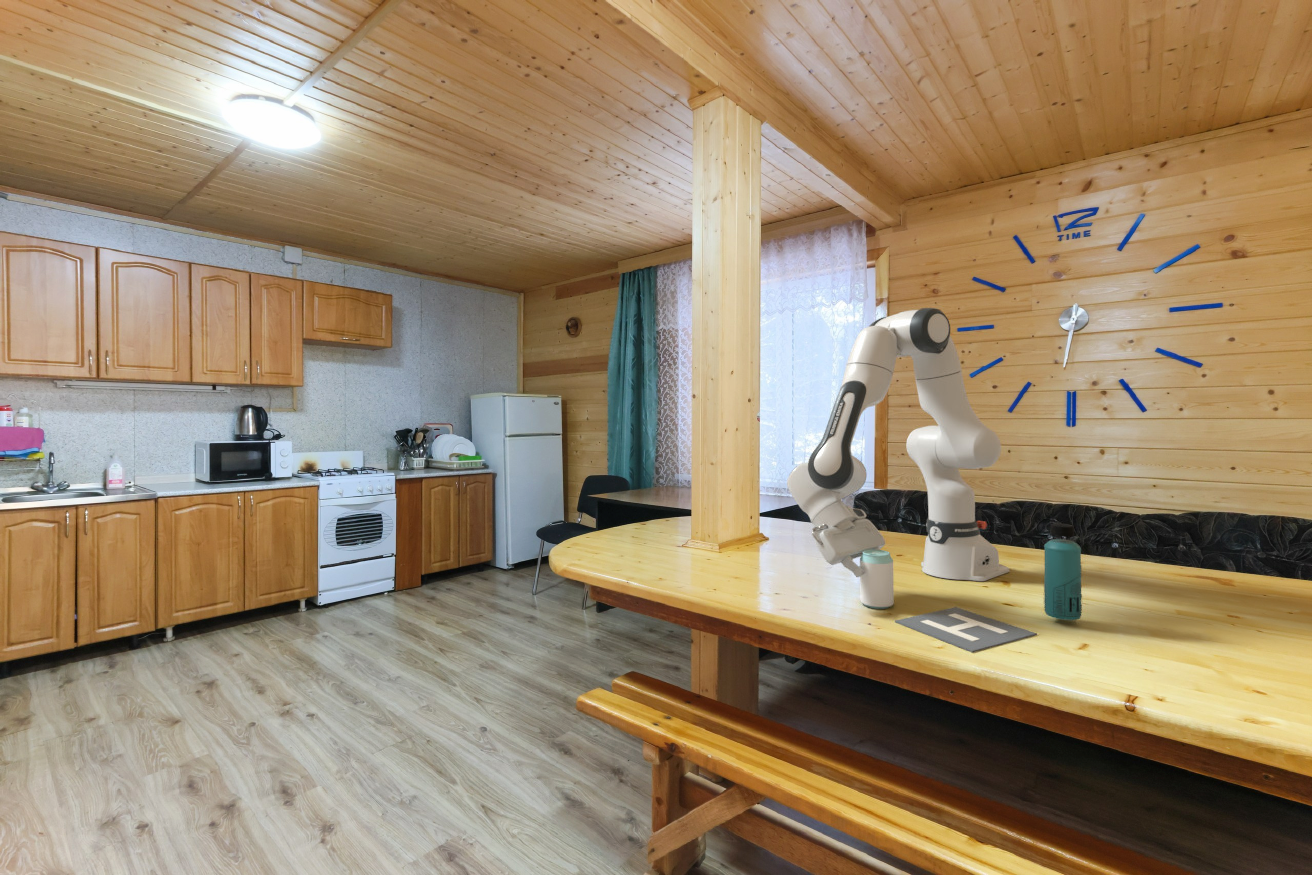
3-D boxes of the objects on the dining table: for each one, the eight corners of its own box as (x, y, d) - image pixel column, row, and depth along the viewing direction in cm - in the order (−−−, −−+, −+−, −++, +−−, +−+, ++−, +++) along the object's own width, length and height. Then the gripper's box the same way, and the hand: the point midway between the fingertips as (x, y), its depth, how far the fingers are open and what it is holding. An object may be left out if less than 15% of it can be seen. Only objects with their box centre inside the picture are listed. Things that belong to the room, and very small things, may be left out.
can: (896, 610, 133) (895, 556, 132) (862, 609, 134) (861, 555, 134) (890, 600, 140) (890, 548, 139) (858, 599, 141) (857, 548, 141)
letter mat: (955, 608, 133) (955, 606, 133) (1036, 634, 117) (1036, 632, 117) (894, 621, 126) (894, 620, 126) (972, 652, 109) (972, 650, 109)
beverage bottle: (1070, 630, 119) (1071, 528, 118) (1036, 620, 125) (1036, 523, 124) (1089, 624, 122) (1089, 524, 121) (1054, 614, 128) (1054, 520, 127)
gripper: (816, 520, 136) (855, 571, 129) (866, 509, 149) (905, 555, 142) (800, 537, 139) (837, 588, 132) (851, 525, 152) (887, 570, 145)
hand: (873, 571), depth 137 cm, fingers open, 8 cm apart
